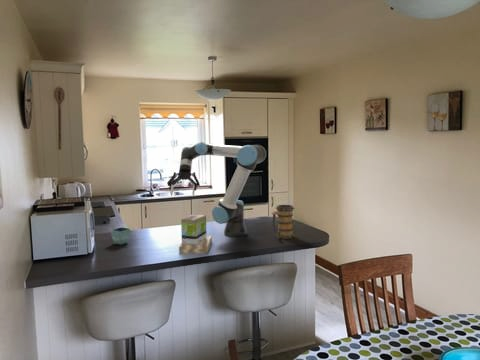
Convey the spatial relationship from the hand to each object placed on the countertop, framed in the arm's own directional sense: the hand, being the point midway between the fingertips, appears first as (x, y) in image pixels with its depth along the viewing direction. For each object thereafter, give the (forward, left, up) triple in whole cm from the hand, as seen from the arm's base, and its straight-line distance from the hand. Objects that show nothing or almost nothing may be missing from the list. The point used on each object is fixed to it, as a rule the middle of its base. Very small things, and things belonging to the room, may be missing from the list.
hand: (182, 194), depth 229 cm
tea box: (-9, +12, -27) cm, 30 cm away
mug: (-62, -10, -31) cm, 70 cm away
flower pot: (+40, 0, -31) cm, 50 cm away
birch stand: (-9, +11, -30) cm, 34 cm away
